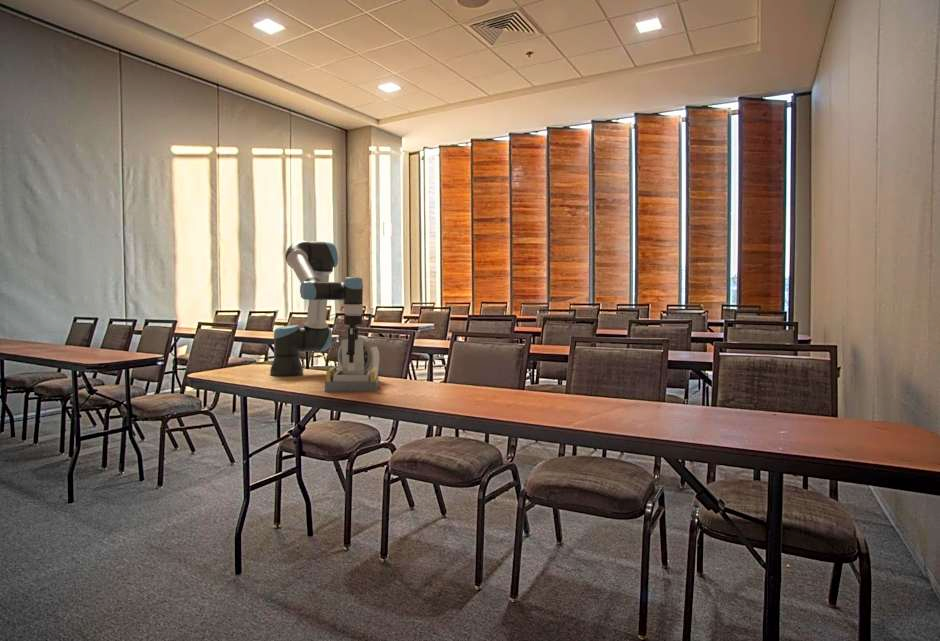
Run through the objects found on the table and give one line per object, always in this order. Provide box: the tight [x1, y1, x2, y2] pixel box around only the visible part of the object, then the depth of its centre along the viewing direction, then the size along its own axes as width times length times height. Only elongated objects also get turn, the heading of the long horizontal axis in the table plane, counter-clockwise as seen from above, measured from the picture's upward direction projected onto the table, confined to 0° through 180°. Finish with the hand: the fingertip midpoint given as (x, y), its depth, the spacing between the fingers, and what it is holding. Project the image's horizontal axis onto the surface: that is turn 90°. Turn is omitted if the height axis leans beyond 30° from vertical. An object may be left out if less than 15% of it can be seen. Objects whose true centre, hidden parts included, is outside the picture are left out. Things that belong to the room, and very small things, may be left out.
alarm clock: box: [337, 335, 380, 375], centre depth 258 cm, size 18×8×20 cm, turn 73°
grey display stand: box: [324, 366, 379, 393], centre depth 235 cm, size 16×20×9 cm
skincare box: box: [341, 339, 364, 375], centre depth 234 cm, size 8×6×15 cm
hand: (352, 369), depth 234 cm, fingers closed on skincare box, 10 cm apart
